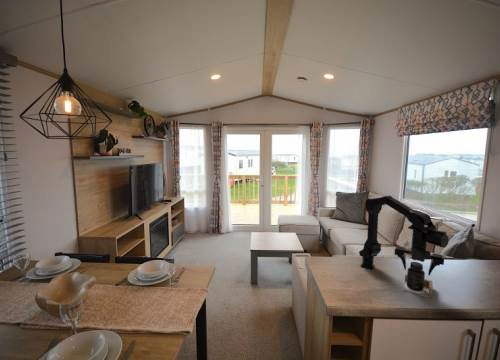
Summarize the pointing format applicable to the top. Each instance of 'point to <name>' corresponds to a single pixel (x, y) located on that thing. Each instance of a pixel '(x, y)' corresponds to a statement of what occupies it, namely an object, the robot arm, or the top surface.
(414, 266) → the supplement bottle
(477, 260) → the top surface
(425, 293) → the corner arena
